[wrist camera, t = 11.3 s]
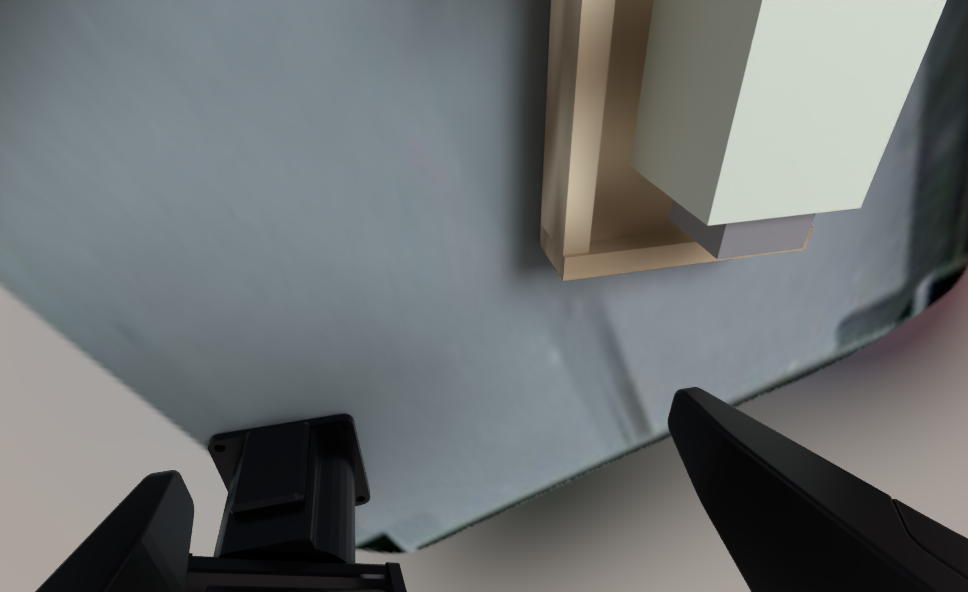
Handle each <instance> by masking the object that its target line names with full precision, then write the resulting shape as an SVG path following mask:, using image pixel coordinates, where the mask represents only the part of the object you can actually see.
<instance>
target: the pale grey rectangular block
mask: <svg viewBox="0 0 968 592" xmlns="http://www.w3.org/2000/svg"><path fill="white" fill-rule="evenodd" d="M946 1H947V0H654V1H653V8H652V15H651V23H650V30H649V37H648V44H647V51H646V58H645V65H644V72H643V79H642V86H641V93H640V100H639V107H638V114H637V121H636V128H635V135H634V142H633V149H632V156H631V163H630V167H632V168H633V169H634V170H635V171H637V172H638V173H639V174H641V175H642V176H643V177H645V178H646V179H647V180H649V181H650V182H651V183H652V184H654V185H655V186H656V187H658V188H659V189H660V190H662V191H663V192H664V193H665V194H667V195H668V196H669V197H671V198H672V199H673V200H672V205H671V210H670V215H669V219H670V220H671V221H672V222H673V223H674V224H676V225H677V226H678V227H679V228H680V229H681V230H683V231H684V232H685V233H686V234H687V235H689V236H690V237H691V238H692V239H693V240H695V241H696V242H697V243H698V244H699V245H701V246H702V247H703V248H704V249H705V250H706V251H708V252H709V253H710V254H711V255H712V256H714V257H715V258H716V259H725V258H733V257H740V256H748V255H756V254H763V253H771V252H779V251H787V250H794V249H802V248H803V246H804V243H805V241H806V238H807V235H808V232H809V230H810V227H811V224H812V222H813V219H814V216H815V213H820V212H829V211H837V210H846V209H854V208H861V205H862V203H863V201H864V198H865V196H866V193H867V191H868V188H869V186H870V184H871V181H872V179H873V176H874V174H875V172H876V169H877V167H878V164H879V162H880V160H881V157H882V155H883V152H884V150H885V148H886V145H887V143H888V140H889V138H890V135H891V133H892V131H893V128H894V126H895V123H896V121H897V119H898V116H899V114H900V111H901V109H902V107H903V104H904V102H905V99H906V97H907V95H908V92H909V90H910V87H911V85H912V82H913V80H914V78H915V75H916V73H917V70H918V68H919V66H920V63H921V61H922V58H923V56H924V54H925V51H926V49H927V46H928V44H929V41H930V39H931V37H932V34H933V32H934V29H935V27H936V25H937V22H938V20H939V17H940V15H941V13H942V10H943V8H944V5H945V3H946Z"/></svg>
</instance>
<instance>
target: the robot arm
mask: <svg viewBox="0 0 968 592" xmlns="http://www.w3.org/2000/svg"><path fill="white" fill-rule="evenodd" d="M340 424H346V425H340ZM668 428H669V431H670V434H671V436H672V438H673V441H674V443H675V445H676V447H677V450H678V452H679V454H680V456H681V459H682V461H683V463H684V466H685V468H686V470H687V472H688V475H689V477H690V479H691V482H692V484H693V486H694V488H695V490H696V493H697V495H698V497H699V499H700V501H701V503H702V505H703V507H704V509H705V510H706V512H707V514H708V516H709V518H710V519H711V521H712V523H713V525H714V526H715V528H716V530H717V532H718V534H719V535H720V537H721V539H722V541H723V543H724V544H725V546H726V548H727V550H728V551H729V553H730V555H731V557H732V558H733V560H734V562H735V563H736V566H737V567H738V569H739V571H740V573H741V574H742V576H743V578H744V580H745V581H746V583H747V585H748V587H749V589H750V590H751V592H968V538H966V537H964V536H962V535H960V534H958V533H956V532H954V531H952V530H951V529H949V528H947V527H945V526H943V525H942V524H940V523H938V522H936V521H934V520H932V519H930V518H929V517H927V516H925V515H923V514H921V513H920V512H918V511H916V510H914V509H913V508H911V507H909V506H907V505H906V504H904V503H902V502H900V501H898V500H897V499H892V498H891V497H890V496H889V495H888V494H886V493H884V492H882V491H880V490H879V489H877V488H875V487H874V486H872V485H870V484H868V483H866V482H865V481H863V480H861V479H859V478H858V477H856V476H854V475H852V474H851V473H849V472H847V471H845V470H844V469H842V468H840V467H838V466H836V465H835V464H833V463H831V462H829V461H828V460H826V459H824V458H822V457H821V456H819V455H817V454H815V453H814V452H811V451H810V450H808V449H807V448H805V447H803V446H801V445H799V444H798V443H796V442H794V441H792V440H791V439H789V438H787V437H785V436H784V435H782V434H780V433H778V432H776V431H775V430H773V429H771V428H769V427H768V426H766V425H764V424H762V423H761V422H759V421H757V420H755V419H754V418H752V417H750V416H748V415H746V414H744V413H743V412H741V411H740V410H738V409H736V408H734V407H732V406H731V405H729V404H727V403H725V402H724V401H722V400H720V399H718V398H717V397H715V396H713V395H711V394H710V393H708V392H706V391H704V390H702V389H700V388H698V387H691V388H685V389H679V390H677V392H676V393H675V395H674V398H673V402H672V405H671V409H670V413H669V417H668ZM218 444H222V445H218ZM208 450H209V452H210V455H211V457H212V459H213V461H214V463H215V465H216V467H217V469H218V472H219V474H220V475H221V478H222V480H223V482H224V484H225V486H226V489H227V491H228V496H227V500H226V504H225V509H224V513H223V518H222V522H221V526H220V530H219V535H218V539H217V543H216V547H215V552H214V557H203V556H192V553H189V549H190V542H191V534H192V526H193V518H194V504H193V500H192V498H191V496H190V494H189V492H188V489H187V487H186V485H185V483H184V481H183V479H182V477H181V475H180V473H179V472H177V471H176V470H170V471H163V472H157V473H152V474H150V475H148V476H147V477H145V478H144V479H143V480H142V481H141V482H140V483H139V484H138V485H137V486H136V487H135V488H134V489H133V490H132V491H131V492H130V494H129V495H128V496H127V497H126V498H125V499H124V500H123V501H122V502H121V503H120V504H119V505H118V506H117V507H116V508H115V509H114V510H113V511H112V512H111V513H110V514H109V515H108V516H107V517H106V518H105V520H104V521H103V522H102V523H101V524H100V525H99V526H98V527H97V528H96V529H95V530H94V531H93V532H92V533H91V534H90V535H89V536H88V537H87V538H86V539H85V540H84V541H83V543H81V545H80V546H79V547H78V548H77V549H76V550H75V551H74V552H73V553H72V554H71V555H70V556H69V557H68V558H67V559H66V560H65V561H64V562H63V563H62V564H61V565H60V566H59V567H58V568H57V569H56V571H55V572H54V573H53V574H52V575H51V576H50V577H49V578H48V579H47V580H46V581H45V582H44V583H43V584H42V585H41V586H40V587H39V588H38V589H37V590H36V591H35V592H407V591H406V587H405V584H404V580H403V576H402V572H401V568H400V564H399V563H390V562H387V563H386V564H385V565H383V564H361V563H355V506H358V505H363V504H366V503H367V502H368V501H369V500H370V489H369V485H368V481H367V476H366V472H365V467H364V463H363V458H362V454H361V450H360V445H359V441H358V436H357V432H356V428H355V423H354V419H353V417H351V416H350V415H347V414H339V415H333V416H327V417H321V418H314V419H308V420H302V421H296V422H290V423H284V424H278V425H271V426H265V427H259V428H253V429H247V430H241V431H235V432H228V433H222V434H217V435H214V436H213V437H212V438H211V439H210V442H209V445H208Z"/></svg>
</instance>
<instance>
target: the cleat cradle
mask: <svg viewBox="0 0 968 592" xmlns="http://www.w3.org/2000/svg"><path fill="white" fill-rule="evenodd" d="M653 1H654V0H551V11H550V33H549V55H548V77H547V99H546V120H545V142H544V164H543V186H542V208H541V230H540V246H541V247H542V249H543V250H544V252H545V254H546V255H547V257H548V258H549V260H550V261H551V263H552V264H553V266H554V268H555V269H556V271H557V272H558V274H559V275H560V277H561V279H562V280H563V281H568V280H575V279H583V278H590V277H598V276H606V275H613V274H621V273H629V272H636V271H644V270H652V269H659V268H667V267H674V266H682V265H690V264H697V263H705V262H713V261H720V260H728V259H735V258H743V257H751V256H758V255H766V254H774V253H781V252H789V251H797V250H804V249H805V248H806V245H807V243H808V240H809V237H810V234H811V232H812V229H813V227H812V226H811V227H810V230H809V232H808V235H807V238H806V241H805V243H804V246H803V248H802V249H794V250H787V251H779V252H771V253H763V254H756V255H748V256H740V257H733V258H725V259H716V258H715V257H714V256H712V255H711V254H710V253H709V252H708V251H706V250H705V249H704V248H703V247H702V246H701V245H699V244H698V243H697V242H696V241H695V240H693V239H692V238H691V237H690V236H689V235H687V234H686V233H685V232H684V231H683V230H681V229H680V228H679V227H678V226H677V225H676V224H674V223H673V222H672V221H671V220H670V219H669V215H670V210H671V205H672V200H673V199H672V198H671V197H669V196H668V195H667V194H665V193H664V192H663V191H662V190H660V189H659V188H658V187H656V186H655V185H654V184H652V183H651V182H650V181H649V180H647V179H646V178H645V177H643V176H642V175H641V174H639V173H638V172H637V171H635V170H634V169H633V168H632V167H630V163H631V156H632V149H633V142H634V135H635V128H636V121H637V114H638V107H639V100H640V93H641V86H642V79H643V72H644V65H645V58H646V51H647V44H648V37H649V30H650V23H651V15H652V8H653Z"/></svg>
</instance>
